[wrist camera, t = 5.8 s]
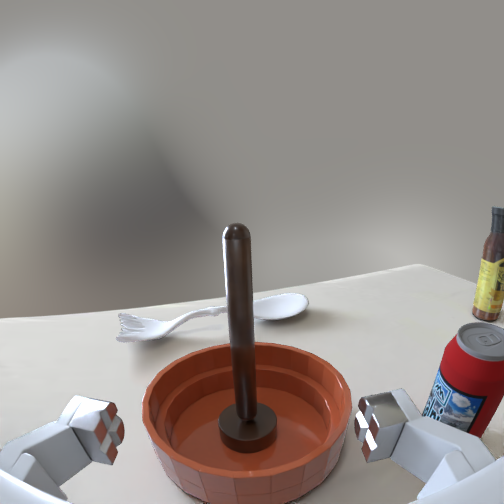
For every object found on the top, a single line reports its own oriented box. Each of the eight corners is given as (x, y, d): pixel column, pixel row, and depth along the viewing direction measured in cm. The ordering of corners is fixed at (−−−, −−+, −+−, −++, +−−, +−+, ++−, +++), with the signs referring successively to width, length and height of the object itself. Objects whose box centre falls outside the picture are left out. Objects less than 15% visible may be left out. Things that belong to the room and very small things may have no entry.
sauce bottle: (491, 326, 36) (510, 209, 32) (465, 314, 42) (480, 205, 37) (503, 315, 39) (519, 209, 34) (479, 305, 44) (492, 205, 40)
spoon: (121, 329, 45) (117, 310, 44) (292, 300, 56) (292, 283, 55) (120, 356, 37) (114, 336, 36) (318, 317, 48) (318, 299, 47)
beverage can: (401, 430, 22) (434, 324, 19) (454, 414, 21) (491, 314, 19) (423, 479, 15) (480, 371, 12) (481, 455, 15) (537, 349, 12)
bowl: (126, 434, 23) (107, 390, 21) (243, 367, 35) (240, 327, 34) (259, 549, 12) (257, 523, 10) (370, 419, 24) (382, 374, 23)
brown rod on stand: (208, 434, 23) (179, 226, 19) (246, 407, 27) (235, 216, 22) (250, 462, 20) (236, 232, 15) (288, 429, 24) (292, 220, 19)
